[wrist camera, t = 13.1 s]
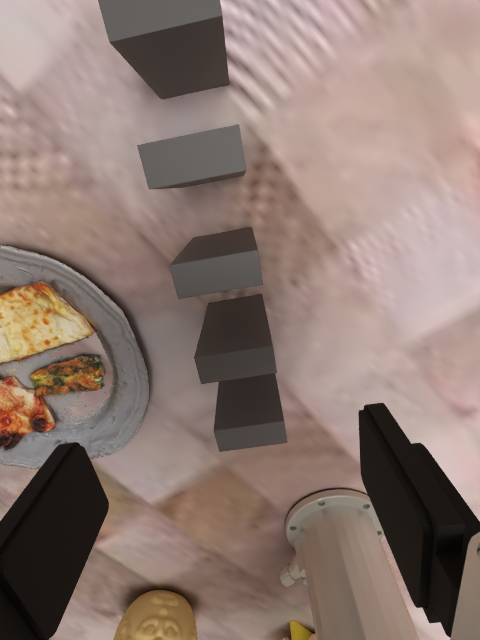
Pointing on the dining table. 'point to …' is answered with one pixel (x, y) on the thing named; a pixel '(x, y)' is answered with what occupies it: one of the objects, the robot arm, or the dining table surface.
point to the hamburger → (300, 632)
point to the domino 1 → (170, 42)
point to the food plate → (62, 362)
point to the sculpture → (158, 618)
